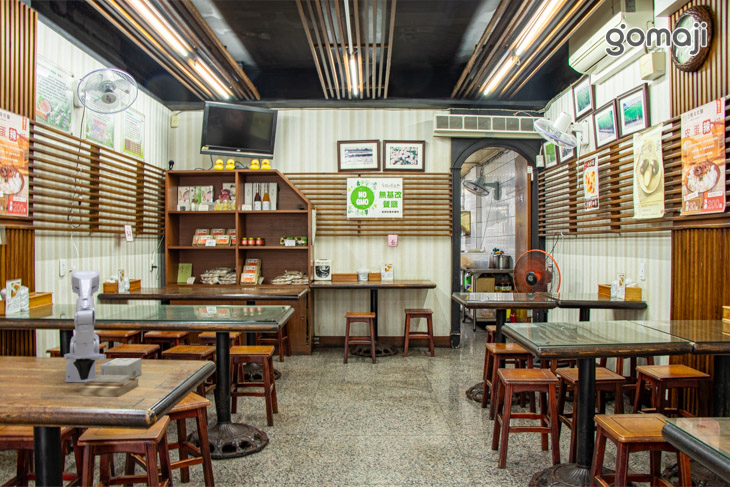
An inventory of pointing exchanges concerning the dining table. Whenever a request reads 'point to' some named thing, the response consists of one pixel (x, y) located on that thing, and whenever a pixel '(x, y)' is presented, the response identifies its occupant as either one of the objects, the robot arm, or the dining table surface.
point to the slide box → (108, 388)
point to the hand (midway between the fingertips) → (84, 379)
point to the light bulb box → (122, 367)
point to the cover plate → (110, 379)
